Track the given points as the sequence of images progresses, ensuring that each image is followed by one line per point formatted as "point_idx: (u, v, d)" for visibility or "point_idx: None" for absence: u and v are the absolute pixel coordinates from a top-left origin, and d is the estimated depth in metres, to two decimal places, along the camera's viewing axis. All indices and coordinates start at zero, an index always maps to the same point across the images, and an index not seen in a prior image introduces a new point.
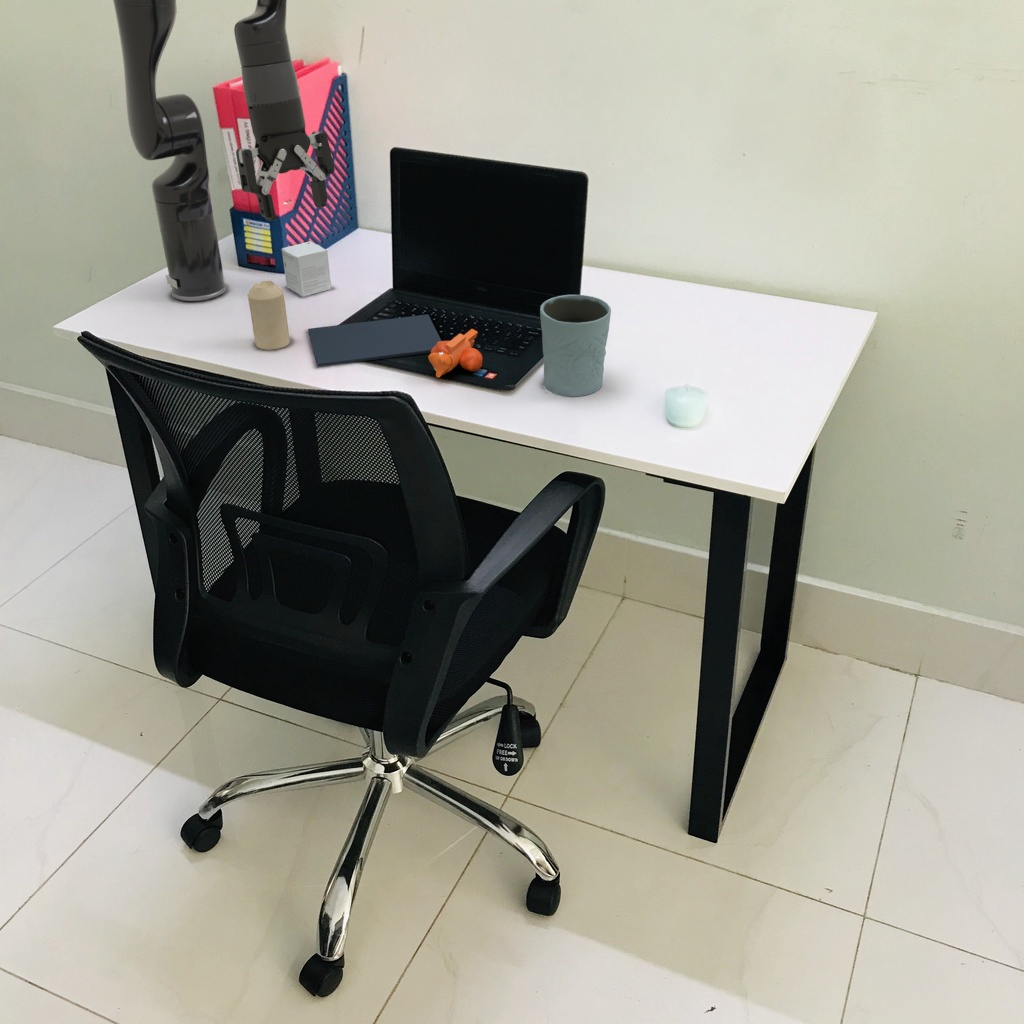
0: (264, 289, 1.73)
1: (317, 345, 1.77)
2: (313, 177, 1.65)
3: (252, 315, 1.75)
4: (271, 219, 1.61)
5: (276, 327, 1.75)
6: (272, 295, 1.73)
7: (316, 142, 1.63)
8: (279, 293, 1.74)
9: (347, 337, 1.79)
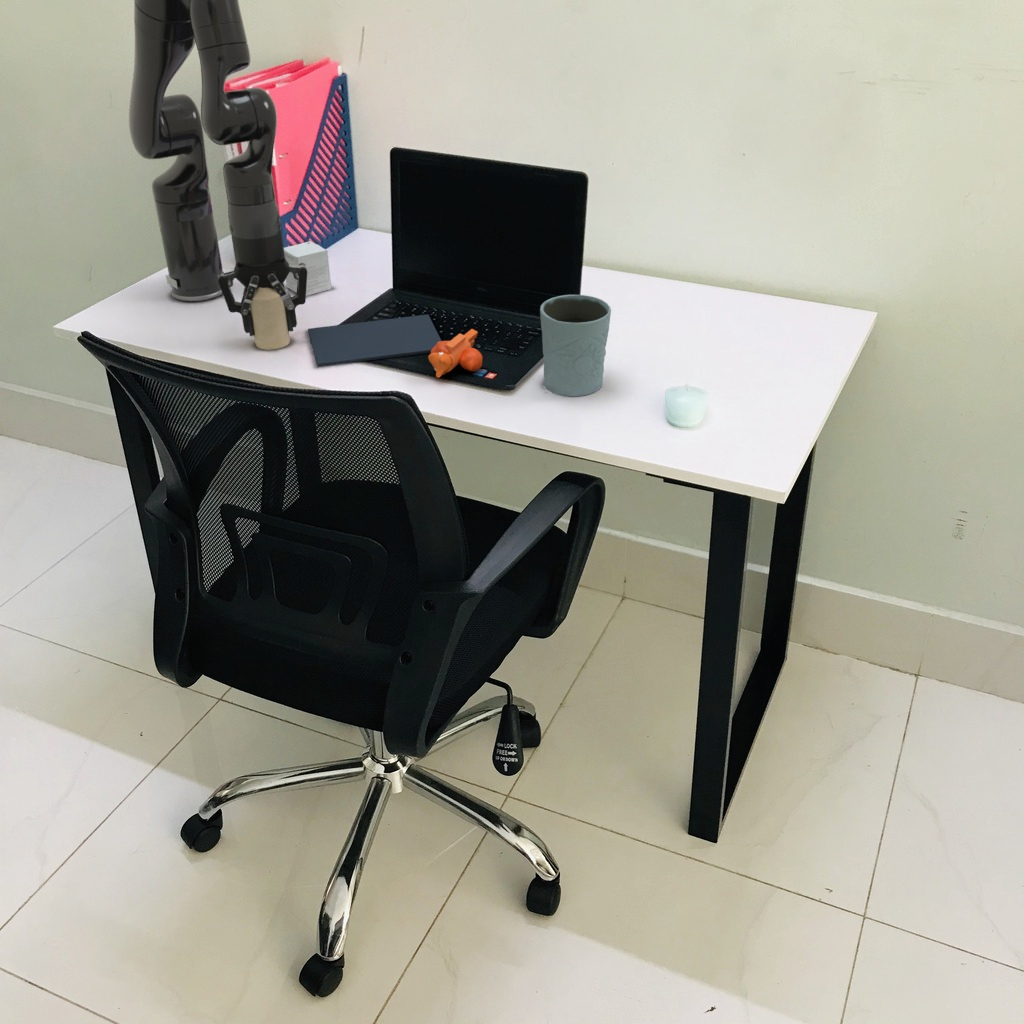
0: (264, 289, 1.73)
1: (317, 345, 1.77)
2: None
3: (252, 315, 1.75)
4: None
5: (276, 327, 1.75)
6: (272, 295, 1.73)
7: (296, 273, 1.74)
8: None
9: (347, 337, 1.79)
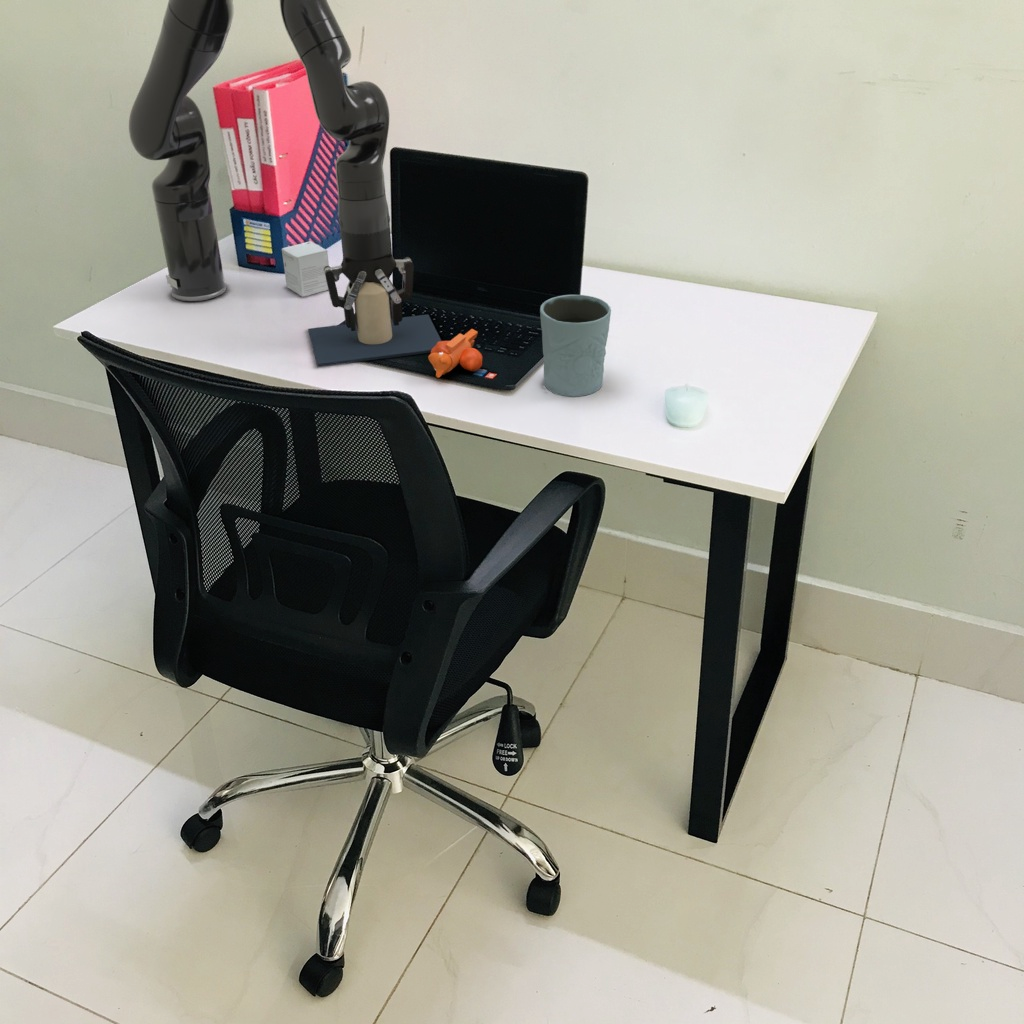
0: (370, 284, 1.72)
1: (317, 345, 1.77)
2: None
3: (357, 310, 1.75)
4: (351, 329, 1.76)
5: (381, 322, 1.75)
6: (378, 290, 1.72)
7: (402, 268, 1.73)
8: None
9: (347, 337, 1.79)
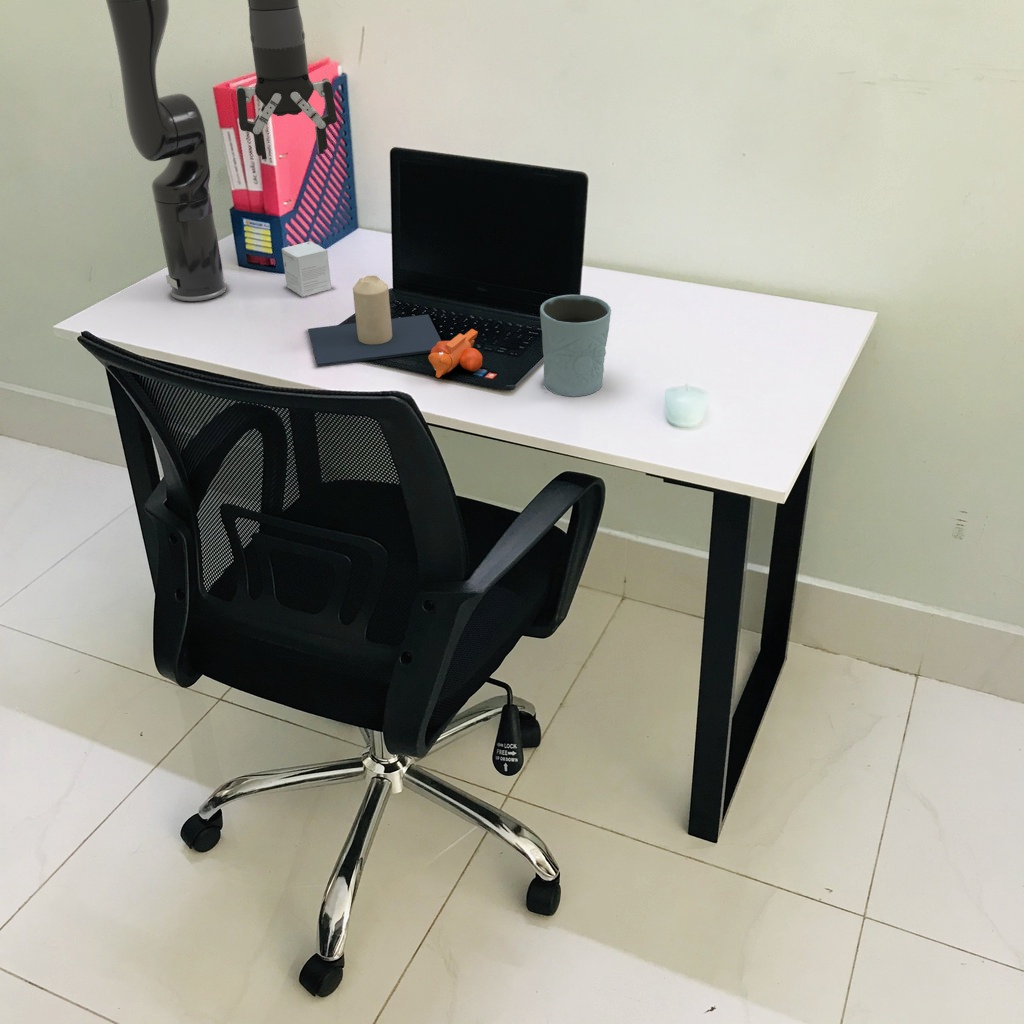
0: (370, 284, 1.72)
1: (317, 345, 1.77)
2: None
3: (357, 310, 1.75)
4: (262, 158, 1.67)
5: (381, 322, 1.75)
6: (378, 290, 1.72)
7: (321, 90, 1.64)
8: (384, 287, 1.73)
9: (347, 337, 1.79)
